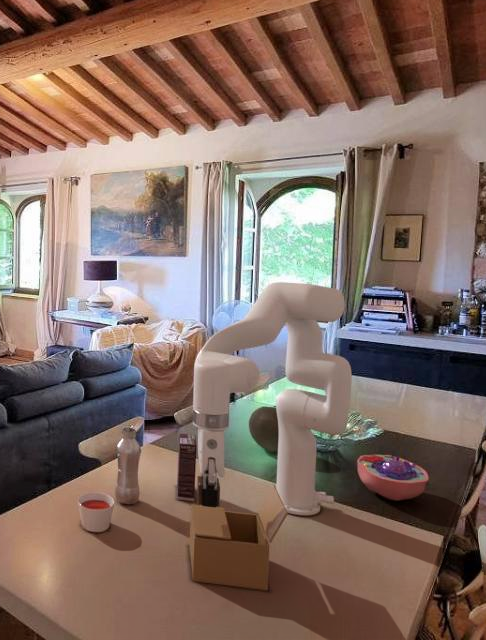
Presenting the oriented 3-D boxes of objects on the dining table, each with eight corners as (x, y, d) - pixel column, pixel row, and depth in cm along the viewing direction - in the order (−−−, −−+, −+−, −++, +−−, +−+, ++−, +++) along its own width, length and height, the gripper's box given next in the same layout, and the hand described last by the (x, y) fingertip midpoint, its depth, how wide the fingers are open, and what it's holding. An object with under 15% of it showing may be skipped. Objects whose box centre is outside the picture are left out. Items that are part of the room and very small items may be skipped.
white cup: (88, 538, 124) (89, 513, 124) (71, 520, 132) (71, 496, 132) (120, 529, 128) (121, 505, 128) (101, 513, 136) (101, 489, 136)
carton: (256, 554, 119) (257, 510, 118) (267, 590, 107) (269, 542, 106) (189, 546, 122) (190, 504, 121) (193, 581, 109) (194, 533, 108)
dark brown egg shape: (294, 448, 183) (296, 406, 182) (287, 462, 171) (289, 417, 170) (252, 439, 190) (254, 399, 189) (242, 452, 179) (244, 409, 178)
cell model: (418, 486, 155) (420, 449, 154) (432, 518, 137) (435, 475, 136) (353, 475, 162) (355, 439, 161) (358, 503, 144) (361, 463, 143)
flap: (257, 511, 118) (258, 512, 118) (268, 542, 106) (270, 543, 106) (272, 484, 117) (274, 485, 117) (286, 512, 105) (288, 513, 105)
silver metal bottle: (112, 496, 146) (114, 425, 144) (136, 495, 146) (138, 425, 145) (117, 507, 139) (118, 434, 138) (142, 507, 140) (144, 433, 139)
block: (217, 497, 115) (218, 477, 115) (219, 506, 111) (220, 486, 111) (197, 495, 116) (197, 475, 116) (198, 504, 112) (198, 484, 112)
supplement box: (195, 502, 143) (197, 445, 142) (177, 500, 144) (178, 443, 143) (193, 487, 152) (195, 434, 150) (176, 486, 152) (178, 432, 151)
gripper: (233, 433, 103) (230, 522, 105) (224, 407, 120) (222, 484, 121) (194, 430, 105) (192, 518, 106) (191, 405, 121) (189, 481, 123)
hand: (208, 499), depth 114 cm, fingers closed on block, 4 cm apart
